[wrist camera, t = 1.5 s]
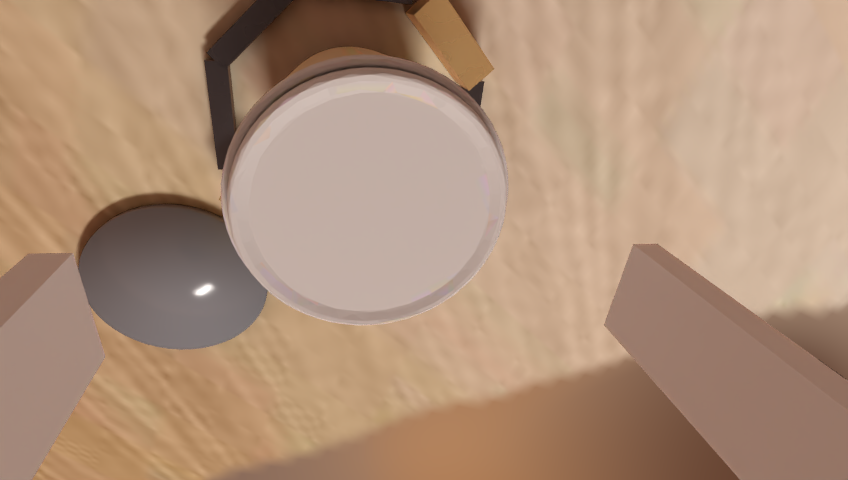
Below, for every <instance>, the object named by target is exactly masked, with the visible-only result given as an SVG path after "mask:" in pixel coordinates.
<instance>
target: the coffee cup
mask: <svg viewBox="0 0 848 480" xmlns="http://www.w3.org/2000/svg"><path fill="white" fill-rule="evenodd" d="M507 197H508V172H507V164H506V159H505V155H504V151H503V148H502V145H501V142H500V139H499V137H498V135H497V133H496V131H495V129H494V127H493V125H492V123H491V121H490V120H489V118H488V117H487V115H486V114H485V112H484V111H483V109H482V108H481V107H480V106H479V105H478V104H477V102H476V101H475V100H474V99H473V98H472V97H471V96H470V95H469V94H468V93H467V92H466V91H465V90H464V89H462V88H461V87H460V86H459V85H457V84H456V83H455V82H453V81H452V80H450V79H449V78H448V77H446V76H444V75H442V74H440V73H439V72H437V71H435V70H433V69H431V68H429V67H426V66H424V65H421V64H419V63H416V62H413V61H409V60H405V59H402V58H397V57H391V56H388V55H385V54H382V53H379V52H376V51H373V50H370V49H366V48H361V47H351V46H350V47H336V48H331V49H327V50H324V51H322V52H319V53H317V54H315V55H313V56H311V57H310V58H308V59H306V60H305V61H304V62H302V63H301V64H300V65H299V66H298V67H297V68H296V69H295V70H294V71H292V72H291V73H290V74H289V75H288V76H287V77H286V78H285V79H284V80H282V81H281V82H279V83H278V84H277V85H275V86H274V87H273V88H271V89H270V90H269V91H268V92H266V93H265V94H264V95H263V96H262V97H261V98H260V99H259V100H258V101H257V102H256V103H255V104H254V106H253V107H252V108H251V109H250V111H249V112H248V113H247V115H246V116H245V117H244V119H243V120H242V122H241V124H240V125H239V127H238V129H237V131H236V132H235V134H234V136H233V139H232V141H231V144H230V146H229V148H228V151H227V155H226V159H225V162H224V166H223V173H222V181H221V204H222V212H223V217H224V221H225V225H226V229H227V232H228V234H229V237H230V239H231V242H232V244H233V246H234V248H235V250H236V252H237V253H238V255H239V257H240V258H241V260H242V261H243V263H244V264H245V265H246V267H247V268H248V269H249V271H250V272H251V274H252V275H253V276H254V277H255V278H256V279H257V280H258V281H259V282H260V284H261V285H262V286H263V287H265V288H266V289H267V290H268V291H269V292H270V293H271V294H272V295H274V296H275V297H276V298H278V299H279V300H280V301H282V302H283V303H285V304H287V305H288V306H290V307H292V308H294V309H296V310H298V311H300V312H302V313H304V314H306V315H309V316H312V317H315V318H318V319H322V320H325V321H329V322H334V323H341V324H349V325H376V324H386V323H391V322H396V321H400V320H404V319H408V318H411V317H413V316H416V315H419V314H421V313H423V312H426V311H428V310H430V309H432V308H434V307H436V306H437V305H439V304H441V303H443V302H444V301H446V300H447V299H449V298H450V297H452V296H453V295H454V294H456V293H457V292H458V291H459V290H460V289H462V288H463V287H464V286H465V285H466V284H467V283H468V282H469V281H470V280H471V279H472V278H473V277H474V276H475V275H476V273H477V272H478V271H479V270H480V269H481V267H482V266H483V264H484V263H485V262H486V260H487V259H488V257H489V255H490V253H491V252H492V250H493V248H494V246H495V244H496V242H497V239H498V237H499V234H500V231H501V228H502V225H503V222H504V217H505V211H506V205H507Z"/></svg>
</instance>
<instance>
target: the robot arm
mask: <svg viewBox="0 0 848 480" xmlns="http://www.w3.org/2000/svg"><path fill="white" fill-rule="evenodd" d="M604 326H605V327H606V328H607V329H608V330H609V331H610V332H611V333H612V335H613V336H614V337H615V338H616V339H617V340H618V341H619V343H620V344H621V345H622V346H623V347H624V348H625V349H626V351H627V352H628V353H629V354H630V355H631V356H632V357H633V358H634V360H635V361H636V362H637V363H638V364H639V365H640V366H641V368H642V369H643V370H644V371H645V372H646V373H647V374H648V376H650V378H651V379H652V380H653V381H654V382H655V383H656V385H657V386H658V387H659V388H660V389H661V390H662V391H663V393H664V394H665V395H666V396H667V397H668V398H669V399H670V401H671V402H672V403H673V404H674V405H675V406H676V407H677V408H678V410H679V411H680V412H681V413H682V414H683V415H684V416H685V418H686V419H687V420H688V421H689V422H690V423H691V424H692V425H693V427H694V428H695V429H696V430H697V431H698V432H699V433H700V435H701V436H702V437H703V438H704V439H705V440H706V441H707V443H708V444H709V445H710V446H711V447H712V448H713V449H714V451H716V453H717V454H718V455H719V456H720V457H721V458H722V459H723V461H724V462H725V463H726V464H727V465H728V466H729V468H730V469H731V470H732V471H733V472H734V473H735V474H736V476H737V477H738V478H739V479H740V480H848V381H847V380H846V379H845V378H844V377H843V376H841V375H840V374H838V373H837V372H835V371H834V370H833V369H831V368H830V367H829V366H827V365H826V364H824V363H823V362H822V361H820V360H819V359H817V358H815V357H814V356H812V355H811V354H810V353H808V352H807V351H805V350H804V349H803V348H801V347H800V346H798V345H797V344H795V343H794V342H793V341H792V340H790V339H789V338H787V337H786V336H785V335H783V334H782V333H780V332H779V331H777V330H776V329H775V328H773V327H772V326H771V325H769V324H768V323H766V322H765V321H764V320H762V319H761V318H760V317H758V316H757V315H755V314H754V313H753V312H751V311H750V310H748V309H747V308H746V307H744V306H743V305H741V304H740V303H739V302H737V301H736V300H735V299H733V298H732V297H730V296H729V295H728V294H726V293H725V292H723V291H722V290H721V289H719V288H718V287H716V286H715V285H714V284H712V283H711V282H709V281H708V280H707V279H705V278H704V277H703V276H701V275H700V274H698V273H697V272H696V271H694V270H693V269H691V268H690V267H689V266H687V265H686V264H684V263H683V262H682V261H680V260H679V259H677V258H676V257H675V256H673V255H672V254H671V253H669V252H668V251H666V250H665V249H664V248H662V247H661V246H659V245H658V244H633V247H632V249H631V252H630V255H629V258H628V260H627V263H626V266H625V269H624V271H623V274H622V277H621V280H620V282H619V285H618V288H617V291H616V293H615V296H614V299H613V302H612V304H611V307H610V310H609V313H608V315H607V318H606V321H605V324H604ZM104 358H105V354H104V351H103V348H102V344H101V341H100V338H99V335H98V332H97V328H96V325H95V322H94V319H93V316H92V312H91V309H90V306H89V303H88V300H87V296H86V293H85V290H84V287H83V284H82V280H81V277H80V274H79V271H78V267H77V264H76V261H75V258H74V255H73V253H46V254H27V255H26V256H25V257H24V258H23V259H22V260H21V261H19V262H18V263H17V264H16V265H15V266H14V267H13V268H11V269H10V270H9V271H8V272H7V273H6V274H5V275H3V276H2V277H1V278H0V480H32V479H33V477H34V475H35V474H36V472H37V470H38V469H39V467H40V465H41V464H42V462H43V460H44V459H45V457H46V455H47V454H48V452H49V450H50V449H51V447H52V445H53V444H54V442H55V440H56V438H57V437H58V435H59V433H60V432H61V430H62V428H63V427H64V425H65V423H66V422H67V420H68V418H69V417H70V415H71V413H72V412H73V410H74V408H75V407H76V405H77V403H78V402H79V400H80V398H81V397H82V395H83V393H84V392H85V390H86V388H87V386H88V385H89V383H90V381H91V380H92V378H93V376H94V375H95V373H96V371H97V370H98V368H99V366H100V365H101V363H102V361H103V360H104Z"/></svg>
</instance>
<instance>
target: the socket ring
mask: <svg viewBox="0 0 848 480" xmlns="http://www.w3.org/2000/svg"><path fill="white" fill-rule="evenodd" d="M292 1H293V0H257V1H256V2H255V3H254V4H253V5H252V6H251V7H250V8H249V9H248V10H247V11H246V12H245V13H244V14H243V15H242V16H241V17H240V18H239V19H238V21H237V22H236V23H235V24H234V25H233V26H232V27H231V28H230V29H229V30H228V31H227V32H226V33H225V34H224V35H223V36H222V37H221V38H220V39H219V40H218V41H217V42H216V43H215V44H214V45H213V46H212V48H211V49H210V50H209V51H208V52H207V54H208V55H209V56H211V57H212V58H213V59H206V60H204V62H205V70H206V77H207V85H208V93H209V101H210V109H211V117H212V125H213V133H214V141H215V148H216V156H217V164H218V169H223V166H224V162H225V159H226V155H227V151H228V148H229V146H230V144H231V141H232V139H233V136H234V134H235V132H236V121H235V111H234V101H233V91H232V81H231V72H230V64H231V63H232V62H233V61H234V60H235V59H236V58H237V57H238V56H239V55H240V54H241V53H242V52H243V51H244V50H245V49H246V48H247V47H248V46H249V45H250V44H251V43H252V42H253V41H254V40H255V39H256V38H257V37H258V36H259V35H260V34H261V33H262V32H263V31H264V30H265V29H266V28H267V27H268V26H269V25H270V24H271V23H272V21H273V20H274V19H275V18H276V17H277V16H278V15H279V14H280V13H281V12H282V11H283V10H284V9H285V8H286V7H287V6H288V5H289V4H290V3H291V2H292ZM378 1H387V2H396V3H404V4H412V0H378ZM405 14H406V15H407V16H408V18H409V19H410V20H411V22H412V23H413V25H414V26H415V27H416V29H417V30H418V31H419V33H420V34H421V35H422V37H423V38H424V40H425V41H426V42H427V44H428V45H429V46H430V48H431V49H432V50H433V52H434V53H435V54H436V56H437V57H438V59H439V60H440V61H441V63H442V64H443V65H444V67H445V68H446V69H447V71H448V72H449V74H450V75H451V76H452V78H453V79H454V80H455V82H456V83H458V84H459V85H461V86H462V89H464V90H465V91H466V92H467V93H468V94H469V95H470V96H471V97H472V98H473V99H474V100H475V101H476V102H477V104H478V105H479V106H480V105H481V99H482V93H483V86H484V81H482V79H483V78H484V77H486V76H487V75H488V74H489V73H490V72H491V71H492V70H494V68H493V66H492V65H491V63H490V62H489V60H488V59H487V57H486V56H485V54H484V53H483V51H482V50H481V48H480V47H479V45H478V44H477V42H476V41H475V39H474V38H473V36H472V35H471V33H470V32H469V30H468V29H467V27H466V26H465V24H464V23H463V21H462V20H461V18H460V17H459V15H458V14H457V12H456V11H455V9H454V8H453V6H452V5H451V3H450V2H449V0H418V1H417V2H416V3H415V4H414V5H413V6H412V7H411V8H410V9H408V10H407V11H406V12H405ZM219 200H220V201H221V196H220V198H219Z"/></svg>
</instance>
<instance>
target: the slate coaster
mask: <svg viewBox="0 0 848 480" xmlns="http://www.w3.org/2000/svg"><path fill="white" fill-rule="evenodd" d="M78 270H79V274H80V277H81V280H82V284H83V287H84V290H85V293H86V296H87V300H88V303H89V305H90V306H91V308H92V309H93V310H94V311H95V312H96V314H97V315H98V316H99V317H100V318H101V319H102V320H103V321H104V322H106V323H107V324H108V325H110V326H111V327H112V328H114V329H115V330H117V331H118V332H120V333H122V334H124V335H125V336H128V337H130V338H132V339H134V340H137V341H139V342H142V343H145V344H149V345H153V346H156V347H162V348H168V349H197V348H204V347H209V346H214V345H217V344H220V343H223V342H225V341H228V340H230V339H232V338H234V337H235V336H237V335H239V334H240V333H242V332H243V331H244V330H246V329H247V328H248V327H249V326H250V325H251V324H252V323H253V322H254V321H255V320H256V318H257V317H258V316H259V314H260V312H261V310H262V309H263V306H264V304H265V301H266V296H267V289H266V288H265V287H263V286H262V285H261V284H260V282H259V281H258V280H257V279H256V278H255V277H254V276H253V275H252V274H251V272H250V271H249V269H248V268H247V267H246V265H245V264H244V263H243V261H242V260H241V258H240V257H239V255H238V253H237V252H236V250H235V248H234V246H233V244H232V242H231V239H230V237H229V234H228V232H227V229H226V225H225V221H224V218H222V217H220V216H218V215H216V214H213V213H211V212H208V211H205V210H202V209H198V208H195V207H190V206H184V205H176V204H154V205H147V206H141V207H137V208H134V209H130V210H128V211H125V212H123V213H121V214H118V215H117V216H115V217H113V218H112V219H110V220H108V221H107V222H106V223H105V224H104V225H102V226H101V227H100V228H99V229H98V230H97V231H96V232H95V233H94V235H93V236H92V237H91V238H90V239H89V241H88V242H87V244H86V245H85V247H84V249H83V251H82V254H81V257H80V261H79V268H78Z"/></svg>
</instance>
